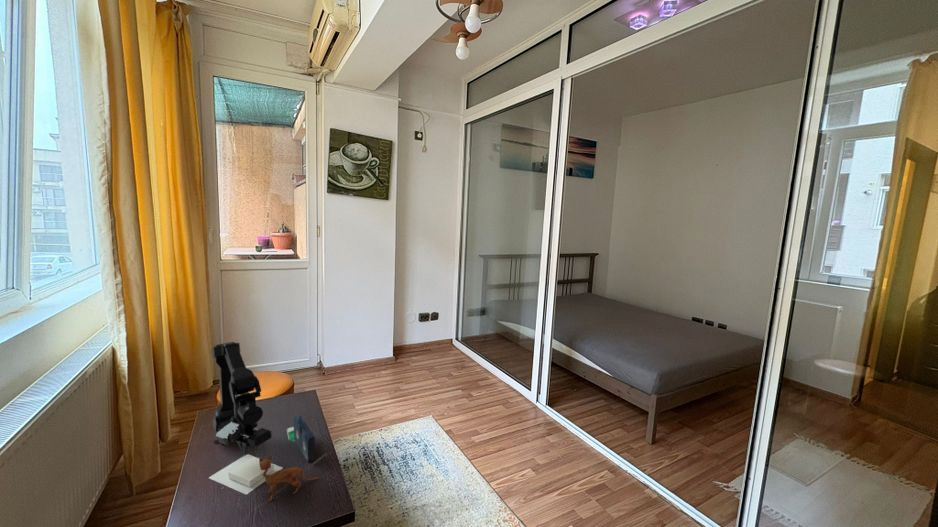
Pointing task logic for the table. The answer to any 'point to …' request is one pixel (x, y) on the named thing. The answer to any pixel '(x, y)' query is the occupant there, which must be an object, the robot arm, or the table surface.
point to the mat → (225, 480)
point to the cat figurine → (282, 476)
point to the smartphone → (290, 433)
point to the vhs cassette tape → (304, 438)
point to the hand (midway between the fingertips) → (245, 454)
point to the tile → (249, 472)
